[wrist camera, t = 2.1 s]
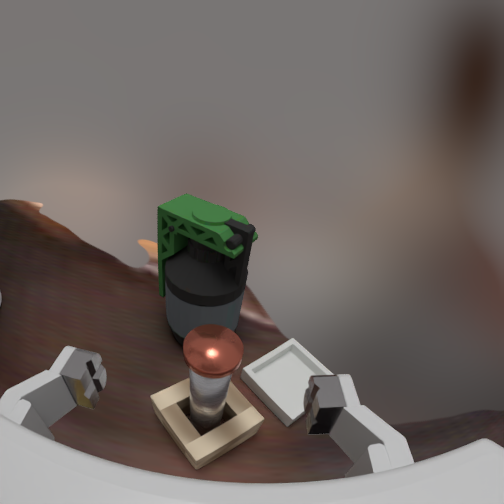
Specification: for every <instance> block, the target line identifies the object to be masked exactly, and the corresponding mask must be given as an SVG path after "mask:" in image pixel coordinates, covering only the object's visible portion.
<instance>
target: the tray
mask: <svg viewBox="0 0 504 504" xmlns="http://www.w3.org/2000/svg"><path fill="white" fill-rule="evenodd" d="M311 375H334V374H333V373H331V372H330V371H329V370H328V369H327V368H326V367H325V366H324V365H322V364H321V363H320V362H319V361H318V360H317V359H316V358H315V357H313V356H312V355H311V354H310V353H309V352H308V351H307V350H306V349H305V348H304V347H302V346H301V345H300V344H299V343H298V342H297V341H296V340H295V339H294V338H292V339H290V340H289V341H287V342H286V343H284V344H283V345H281V346H279V347H278V348H276V349H274V350H273V351H271V352H270V353H268V354H266V355H265V356H263V357H261V358H260V359H258V360H256V361H255V362H253V363H251V364H250V365H248V366H246V367H244V368H243V370H242V373H241V377H240V378H241V379H242V380H243V381H244V382H245V383H246V385H247V386H248V387H249V388H250V389H251V390H252V391H253V392H254V393H255V394H256V395H257V396H258V398H259V399H260V400H261V401H262V402H263V403H264V404H265V405H266V406H267V407H268V408H269V409H270V410H271V411H272V412H273V413H274V414H275V415H276V416H277V417H278V418H279V419H280V420H281V421H282V422H283V423H284V424H285V425H286V426H287V427H288V426H289V425H291V424H292V423H293V422H294V421H296V420H297V419H298V418H299V417H301V416H302V415H303V414H304V413H305V412H304V402H303V401H304V394H305V390H306V389H307V388H308V387H309V384H308V381H309V378H310V376H311Z"/></svg>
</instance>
